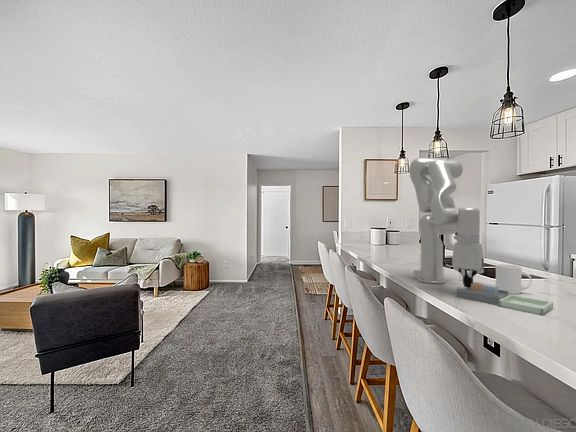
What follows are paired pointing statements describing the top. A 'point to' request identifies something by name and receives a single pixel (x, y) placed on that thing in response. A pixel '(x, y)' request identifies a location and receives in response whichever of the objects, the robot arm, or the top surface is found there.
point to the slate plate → (481, 295)
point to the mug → (510, 278)
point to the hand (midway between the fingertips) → (467, 286)
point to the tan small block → (477, 286)
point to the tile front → (490, 289)
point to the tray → (525, 304)
